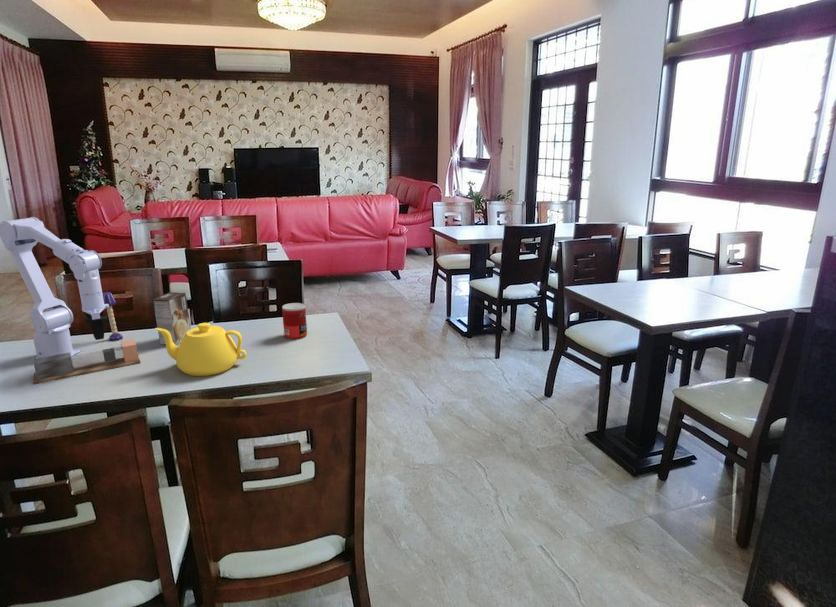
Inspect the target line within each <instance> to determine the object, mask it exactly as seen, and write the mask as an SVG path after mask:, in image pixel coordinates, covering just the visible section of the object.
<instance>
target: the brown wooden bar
mask: <svg viewBox="0 0 836 607" xmlns="http://www.w3.org/2000/svg"><path fill="white" fill-rule="evenodd" d="M138 358H139V360H137V361H132V362H127V363H125V361H124V358H118V359H116V360H111V361H106V362H105V361H103V362H97V363H92V364H87V365H82V366H76V367H73V365H72V360H71V353H64V354H59V355H53V356H48V357H42V358H37V357H36V358H34V359H33V368H34V371H35V372H33V374H32V375H33V376H32V377H33V378H32V385H36V384H43V383H47V382H52V380H53V381H57V380H63V379H66V378H67V379H68V378H73V377H77V376H84V375H87V374H88V375H89V374H92V373H96V372H97V373H98V372H102V371H103V372H104V371H108V370H113V369H117V368H123V367H128V366H133V365H138V364H139V365H140V364H141V360H140V357H139V356H138Z"/></svg>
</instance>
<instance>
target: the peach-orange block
mask: <svg viewBox="0 0 836 607" xmlns="http://www.w3.org/2000/svg"><path fill="white" fill-rule="evenodd" d="M120 345H121V346H120V347H122V348H123V354H124V361H125V363H127V362H132V361H137V360H140V357H139V353H138V346H137V343H136V340H135V339H129V340H124V341H123V340H122V341H120ZM138 357H139V358H138Z"/></svg>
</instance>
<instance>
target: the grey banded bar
mask: <svg viewBox="0 0 836 607" xmlns="http://www.w3.org/2000/svg"><path fill="white" fill-rule="evenodd" d="M118 358H124V354H123V348H122V347H121V346H120V347H111V348H106V349H102V350H98V351H93V352H92V351H91V352H87V353H81V354H75V355H73V356H71V360H72V365H73V367H76V366H82V365H87V364H92V363H97V362H103V361H105V362H106V361H111V360H116V359H118Z"/></svg>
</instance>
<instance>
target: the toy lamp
mask: <svg viewBox="0 0 836 607" xmlns="http://www.w3.org/2000/svg"><path fill="white" fill-rule="evenodd" d="M102 294H103V300H104V304H109V307H108V308H106V312H107V318H108V320H109V325H110V330H111V334H110V335H109V337H108V340H109V341H110V340H117V341H120V340H119V339H121V340H123V338H124V337H123V335H122V334H121V333H118V332H119V331H118V328H117V326H116V325H117V323H116V320H115V319H116V318H115V317H114V316H115V314H114V309H113V306H114V305H116V304H117V302H116V300H115V298H114V297H115V296H114V295H113V293H111V292H110V291H106V292H102Z"/></svg>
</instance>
